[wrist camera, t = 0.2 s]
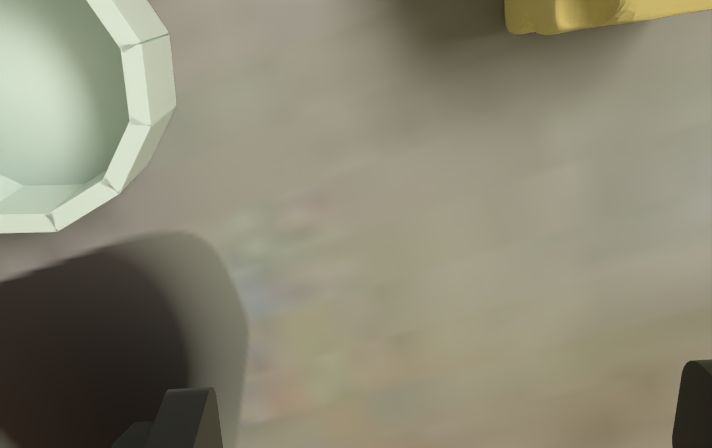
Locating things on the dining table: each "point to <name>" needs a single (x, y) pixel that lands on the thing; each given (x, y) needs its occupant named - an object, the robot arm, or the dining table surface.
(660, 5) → the cheese
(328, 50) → the dining table surface
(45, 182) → the bowl
